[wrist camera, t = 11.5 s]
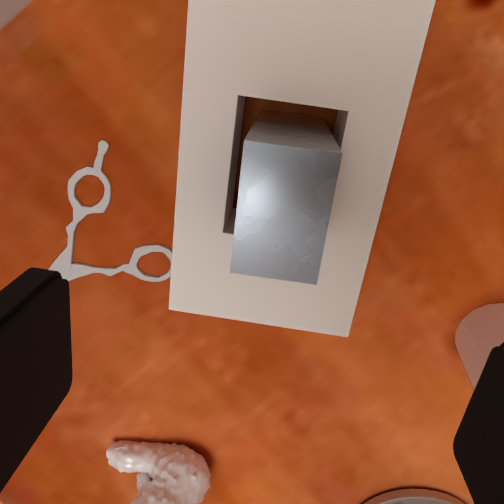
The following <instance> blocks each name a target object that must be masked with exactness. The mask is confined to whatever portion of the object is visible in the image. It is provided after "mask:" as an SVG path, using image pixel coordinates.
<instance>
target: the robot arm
mask: <svg viewBox="0 0 504 504" xmlns="http://www.w3.org/2000/svg"><path fill="white" fill-rule="evenodd" d="M71 383H72V351H71V324H70V297H69V283H68V280H66V279H62V276H61V273H60V272H58V271H53V270H47V269H40V268H33V267H32V268H30V269H28V270H27V271H25V272H24V273H23V274H21V275H20V276H19V277H18V278H16V279H15V280H14V281H13V282H11V283H10V284H9V285H7V286H6V287H5V288H4V289H2V290H1V291H0V493H1V491H2V490H3V488H4V487H5V485H6V484H7V482H8V481H9V479H10V478H11V476H12V475H13V473H14V472H15V470H16V469H17V467H18V466H19V464H20V463H21V462H22V460H23V459H24V457H25V456H26V454H27V453H28V451H29V450H30V448H31V447H32V445H33V444H34V442H35V441H36V439H37V438H38V436H39V435H40V433H41V432H42V430H43V429H44V428H45V426H46V425H47V423H48V422H49V420H50V419H51V417H52V416H53V414H54V413H55V411H56V410H57V408H58V407H59V405H60V404H61V402H62V401H63V399H64V398H65V397H66V395H67V393H68V392H69V389H70V387H71ZM453 450H454V455H455V458H456V460H457V463H458V465H459V468H460V470H461V472H462V475H463V477H464V480H465V482H466V484H467V487H468V489H469V492H470V494H471V496H472V499H473V501H474V504H504V342H503V343H502V344H501V345H500V346H496V347H494V348H493V349H492V350H491V352H490V354H489V356H488V359H487V361H486V363H485V366H484V368H483V371H482V373H481V375H480V378H479V380H478V383H477V385H476V387H475V390H474V392H473V395H472V397H471V399H470V402H469V404H468V407H467V409H466V411H465V414H464V416H463V419H462V421H461V423H460V426H459V428H458V431H457V433H456V435H455V438H454V443H453ZM364 504H464V503H463V502H462V501H460V500H458V499H456V498H454V497H452V496H450V495H448V494H444V493H441V492H438V491H433V490H427V489H401V490H395V491H391V492H387V493H383V494H381V495H379V496H376V497H374V498H372V499H370V500H369V501H367V502H365V503H364Z"/></svg>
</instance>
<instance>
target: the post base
mask: <svg viewBox="0 0 504 504" xmlns="http://www.w3.org/2000/svg"><path fill="white" fill-rule="evenodd" d="M435 1H436V0H189V1H188V16H187V32H186V48H185V63H184V79H183V94H182V110H181V125H180V141H179V157H178V172H177V188H176V203H175V219H174V234H173V250H172V265H171V281H170V297H169V310H175V311H182V312H188V313H195V314H201V315H207V316H214V317H220V318H227V319H233V320H240V321H246V322H253V323H259V324H265V325H272V326H278V327H285V328H291V329H298V330H304V331H310V332H317V333H323V334H330V335H336V336H343V337H348V335H349V331H350V328H351V324H352V320H353V316H354V312H355V308H356V304H357V301H358V297H359V293H360V289H361V285H362V281H363V278H364V274H365V270H366V266H367V262H368V258H369V254H370V251H371V247H372V243H373V239H374V235H375V231H376V228H377V224H378V220H379V216H380V212H381V208H382V204H383V201H384V197H385V193H386V189H387V185H388V181H389V178H390V174H391V170H392V166H393V162H394V158H395V155H396V151H397V147H398V143H399V139H400V135H401V131H402V128H403V124H404V120H405V116H406V112H407V108H408V105H409V101H410V97H411V93H412V89H413V85H414V81H415V78H416V74H417V70H418V66H419V62H420V58H421V55H422V51H423V47H424V43H425V39H426V35H427V32H428V28H429V24H430V20H431V16H432V12H433V8H434V5H435ZM246 96H248V97H254V98H261V99H268V100H275V101H282V102H289V103H296V104H303V105H310V106H317V107H323V108H330V109H337V110H338V112H337V117H336V122H335V127H334V132H333V137H334V139H335V141H336V143H337V144H338V146H339V148H340V150H341V151H342V159H341V164H340V169H339V174H338V179H337V184H336V189H335V194H334V199H333V204H332V209H331V214H330V220H329V225H328V230H327V235H326V240H325V245H324V250H323V255H322V260H321V265H320V270H319V275H318V281H317V285H314V284H307V283H300V282H293V281H285V280H278V279H271V278H264V277H257V276H250V275H242V274H235V273H230V266H231V256H232V247H233V237H234V228H235V219H236V208H232V207H233V198H234V190H235V181H236V173H237V164H238V156H239V147H240V139H241V131H242V122H243V114H244V105H245V97H246Z"/></svg>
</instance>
